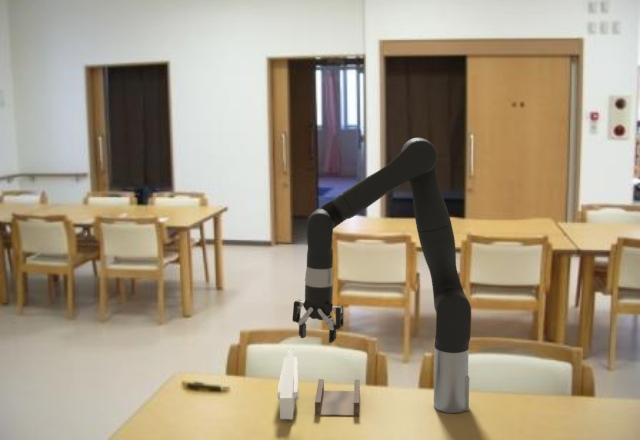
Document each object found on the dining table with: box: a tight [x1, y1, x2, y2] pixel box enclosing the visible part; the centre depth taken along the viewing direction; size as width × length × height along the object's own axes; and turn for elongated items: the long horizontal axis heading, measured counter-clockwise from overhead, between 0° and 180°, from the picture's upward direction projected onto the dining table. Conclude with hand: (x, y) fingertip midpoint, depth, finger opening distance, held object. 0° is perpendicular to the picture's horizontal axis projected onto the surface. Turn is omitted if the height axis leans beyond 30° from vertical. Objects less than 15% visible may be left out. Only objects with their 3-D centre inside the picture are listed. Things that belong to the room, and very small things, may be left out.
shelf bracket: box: [277, 348, 300, 420], centre depth 203 cm, size 6×25×13 cm, turn 179°
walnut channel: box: [314, 378, 361, 417], centre depth 203 cm, size 12×16×4 cm
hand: (317, 339), depth 199 cm, fingers open, 8 cm apart
